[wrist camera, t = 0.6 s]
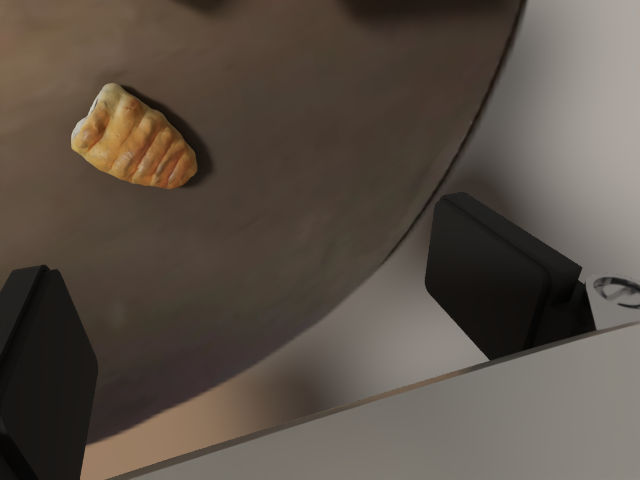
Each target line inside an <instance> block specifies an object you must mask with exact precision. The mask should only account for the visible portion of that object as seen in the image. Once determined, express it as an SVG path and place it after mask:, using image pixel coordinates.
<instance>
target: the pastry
mask: <svg viewBox="0 0 640 480" xmlns="http://www.w3.org/2000/svg"><path fill="white" fill-rule="evenodd" d="M71 145H72V149H73V150H74V151H75V152H77V153H79V154H80V155H82V156H83V157H84V158H85V159H86V160H87V161H88V162H90V163H91V164H92V165H94V166H95V167H96V168H97V169H99V170H101V171H103V172H106V173H108V174H111V175H113V176H115V177H117V178H119V179H121V180H126V181H129V182H131V183H134V184H141V185H144V186H149V185H150V186H157V187H161V188H164V189H174V188H177V187H179V186H182V185H183V184H185V183H186V182H187V181H188V180H189V179H190V178H191V177H192V176H193V175H194V174H195V173H196V172H197V162H196V155H195V152H194V150H193V149H192V148H191V147H190V146H189V145H188V144H187V143H186V142H185V140H184V139H183V137H182V135H181V134H180V133H179V132H178V131H177V130H176V129H175V128H174V127H173V126H172V125H171V124H170V123H169V122H168V121H167V119H166V118H165V116H164V115H163V114H162V113H161V112H159V111H157V110H153V109H151V108H150V107H148V106H147V105H146V104H144V103H142V102H141V101H140V100H139V99H138V98H136V97H135V96H133V95H131V94H129V93H127V92H126V91H125V90H124V89H123V88H122V87H121V86H120V85H118V84H115V83H109V84H106V85H105V86H104V87H103V89H102V90H101V91H100V93H99V94H98V96H97V97H96V99H95V101H94V103H93V105H92V107H91V108H90V111H89V114H88V116H87V117H86V118H84V119H82V120H81V121H79V122H78V123H77V125H76V127H75V129H74V130H73V133H72V136H71Z"/></svg>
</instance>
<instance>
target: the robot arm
mask: <svg viewBox="0 0 640 480" xmlns="http://www.w3.org/2000/svg"><path fill="white" fill-rule="evenodd" d="M581 270H582V267H581V266H579V265H578V264H576V263H575V262H573V261H572V260H570V259H568V258H567V257H565V256H564V255H562V254H561V253H559V252H558V251H556V250H554V249H553V248H551V247H549V246H548V245H546V244H545V243H543V242H542V241H540V240H539V239H537V238H535V237H534V236H532V235H531V234H529V233H528V232H526V231H525V230H523V229H521V228H520V227H518V226H517V225H515V224H514V223H512V222H510V221H509V220H507V219H506V218H504V217H503V216H501V215H499V214H498V213H496V212H495V211H493V210H492V209H490V208H489V207H487V206H485V205H484V204H482V203H480V202H479V201H478V200H476V199H474V198H473V197H471V196H470V195H468V194H467V193H464V192H459V193H454V194H447V195H443V196H442V197H441V198H440V200H439V201H438V202H437V203H436V204H435V208H434V216H433V223H432V231H431V238H430V246H429V253H428V260H427V268H426V275H425V286H426V289H427V291H428V293H429V294H430V295H431V296H432V297H433V298H434V299H435V300H436V301H437V303H438V304H439V305H440V306H441V307H442V308H443V309H444V310H445V311H446V312H447V314H448V315H449V316H450V317H451V318H452V319H453V320H454V321H455V322H456V323H457V325H458V326H459V327H460V328H461V329H462V330H463V331H464V332H465V334H466V335H468V337H469V338H470V339H471V340H472V341H473V342H474V343H475V345H476V346H477V347H478V348H479V349H480V350H481V351H482V352H483V353H484V354H485V355H486V356H487V358H488V359H489V360H490V361H488V362H484V363H481V364H477V365H474V366H471V367H468V368H464V369H461V370H457V371H454V372H451V373H447V374H444V375H441V376H438V377H434V378H431V379H427V380H424V381H421V382H417V383H414V384H411V385H408V386H404V387H401V388H398V389H395V390H391V391H388V392H384V393H382V394H378V395H375V396H371V397H368V398H365V399H362V400H358V401H355V402H352V403H348V404H345V405H342V406H339V407H335V408H332V409H329V410H325V411H322V412H319V413H316V414H313V415H309V416H306V417H303V418H299V419H296V420H293V421H290V422H287V423H283V424H280V425H277V426H274V427H270V428H267V429H264V430H261V431H257V432H254V433H251V434H248V435H245V436H241V437H239V438H235V439H232V440H228V441H225V442H222V443H219V444H216V445H212V446H209V447H206V448H203V449H199V450H196V451H193V452H190V453H187V454H183V455H180V456H177V457H174V458H171V459H168V460H164V461H161V462H158V463H155V464H152V465H149V466H146V467H143V468H140V469H137V470H134V471H131V472H128V473H125V474H122V475H119V476H115V477H112V478H109V479H106V480H640V281H638V280H636V279H633V278H630V277H627V276H623V275H618V274H611V273H599V274H594V275H591V276H589V277H588V279H586V281H585V284H583V283H582V282H580V281H579V280H578V278H579V275H580V273H581ZM97 375H98V363H97V359H96V356H95V353H94V351H93V349H92V346H91V344H90V342H89V339H88V337H87V334H86V332H85V330H84V327H83V325H82V323H81V320H80V318H79V316H78V313H77V311H76V308H75V306H74V304H73V301H72V299H71V297H70V294H69V292H68V290H67V287H66V285H65V282H64V280H63V278H62V275H61V273H60V272H59V271H58V270H57V269H55V270H50V269H49V268H48V267H47V266H46V265H40V266H34V267H28V268H22V269H17V270H13V271H12V272H11V274H10V276H9V277H8V279H7V281H6V283H5V285H4V287H3V288H2V290H1V292H0V480H80V475H81V469H82V463H83V457H84V451H85V446H86V440H87V434H88V428H89V422H90V416H91V411H92V405H93V399H94V393H95V387H96V381H97Z"/></svg>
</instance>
